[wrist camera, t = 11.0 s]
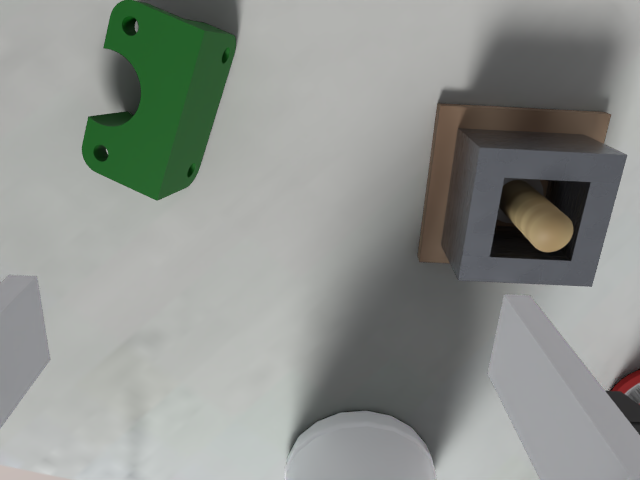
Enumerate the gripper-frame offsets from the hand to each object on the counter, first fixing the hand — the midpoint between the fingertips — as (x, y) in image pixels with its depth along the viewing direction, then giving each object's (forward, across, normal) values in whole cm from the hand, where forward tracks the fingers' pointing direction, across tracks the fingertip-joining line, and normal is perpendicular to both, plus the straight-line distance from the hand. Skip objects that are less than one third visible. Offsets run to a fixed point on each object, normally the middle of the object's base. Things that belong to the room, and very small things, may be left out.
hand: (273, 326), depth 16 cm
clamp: (+27, -9, +2) cm, 29 cm away
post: (+26, +16, -3) cm, 31 cm away
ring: (+25, +16, -3) cm, 30 cm away
